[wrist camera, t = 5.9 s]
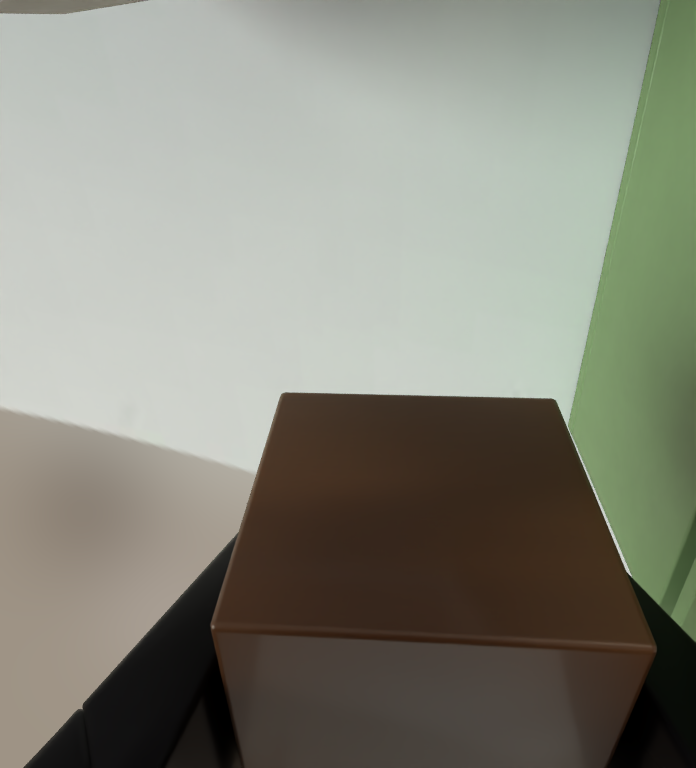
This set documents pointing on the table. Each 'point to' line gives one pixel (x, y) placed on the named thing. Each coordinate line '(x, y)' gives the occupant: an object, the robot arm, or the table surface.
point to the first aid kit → (56, 5)
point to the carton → (650, 335)
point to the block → (426, 592)
